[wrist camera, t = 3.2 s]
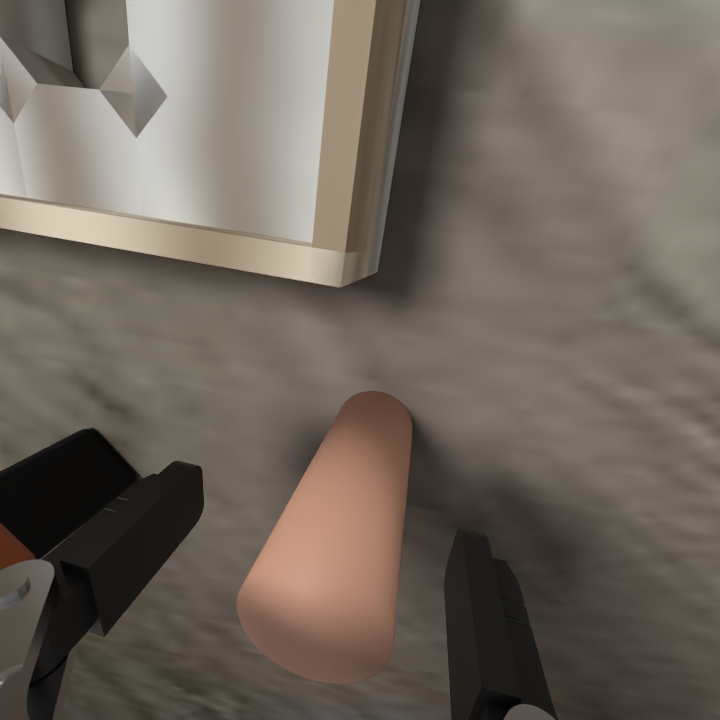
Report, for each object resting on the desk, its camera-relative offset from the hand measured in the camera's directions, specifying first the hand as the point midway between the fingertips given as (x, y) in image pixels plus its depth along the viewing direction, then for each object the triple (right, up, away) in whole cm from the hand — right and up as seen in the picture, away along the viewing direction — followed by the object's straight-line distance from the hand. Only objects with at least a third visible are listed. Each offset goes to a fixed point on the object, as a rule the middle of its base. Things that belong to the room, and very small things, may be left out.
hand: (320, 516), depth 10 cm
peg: (+2, +2, +6) cm, 6 cm away
